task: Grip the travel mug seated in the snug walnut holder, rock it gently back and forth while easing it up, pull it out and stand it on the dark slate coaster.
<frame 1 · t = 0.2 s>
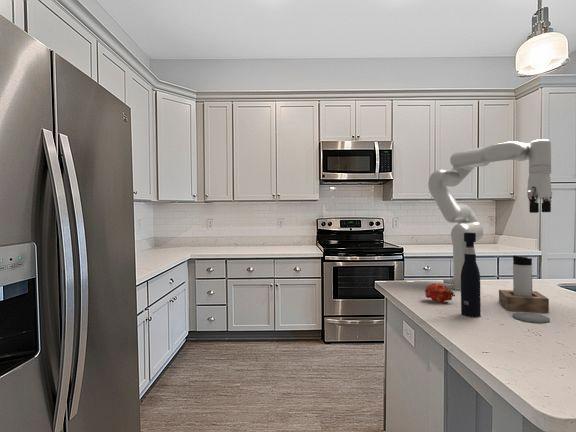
hand: (540, 212, 149), 37 cm above the countertop, tool pointing down, fingers open, 9 cm apart
mug holder: (522, 306, 142), on the countertop
coaster: (530, 318, 127), on the countertop
travel mug: (522, 307, 142), resting in mug holder
black water bottle: (470, 315, 133), on the countertop
dragon fruit: (439, 302, 152), on the countertop
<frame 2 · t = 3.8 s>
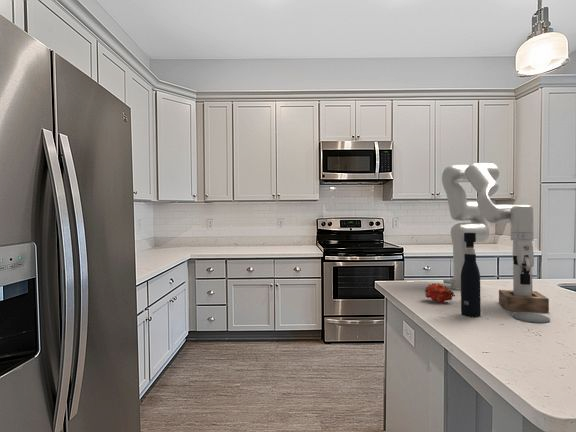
hand: (522, 282, 142), 10 cm above the countertop, tool pointing down, fingers closed on travel mug, 6 cm apart
travel mug: (522, 307, 142), resting in mug holder, touching gripper
everything else where it was.
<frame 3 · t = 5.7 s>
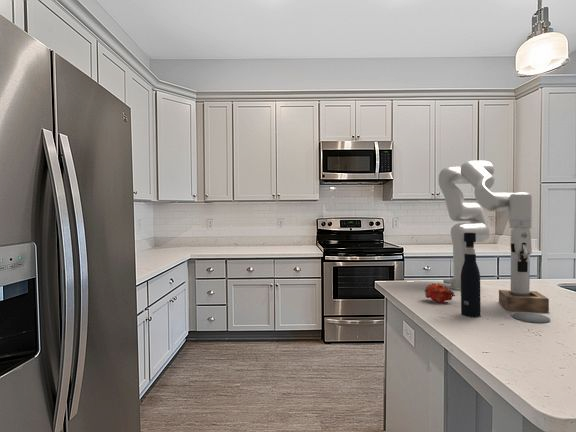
hand: (519, 269, 142), 14 cm above the countertop, tool pointing down, fingers closed on travel mug, 6 cm apart
travel mug: (519, 294, 143), point 5 cm above the countertop, touching gripper
everything else where it was.
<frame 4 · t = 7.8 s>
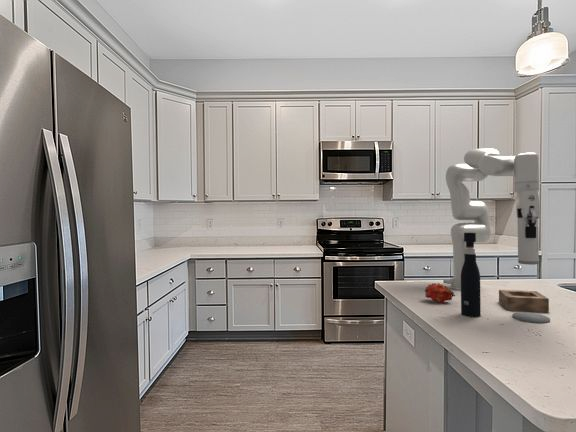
hand: (527, 236, 132), 28 cm above the countertop, tool pointing down, fingers closed on travel mug, 6 cm apart
travel mug: (527, 264, 132), point 18 cm above the countertop, touching gripper
everything else where it was.
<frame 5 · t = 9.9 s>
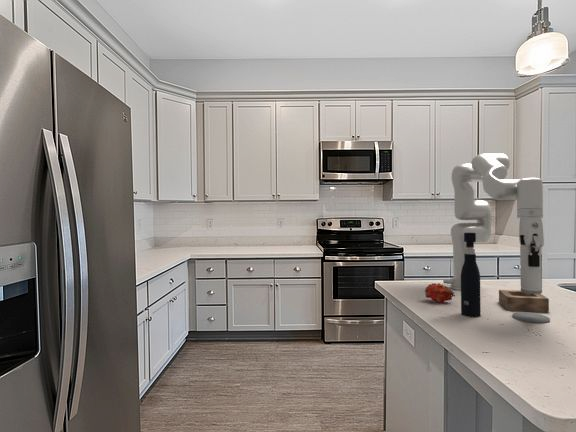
hand: (530, 264, 127), 19 cm above the countertop, tool pointing down, fingers closed on travel mug, 6 cm apart
travel mug: (530, 292, 127), point 9 cm above the countertop, touching gripper
everything else where it was.
when the fingers open (11 cm above the countertop, at t = 11.8 s): travel mug drops 1 cm, resting on coaster.
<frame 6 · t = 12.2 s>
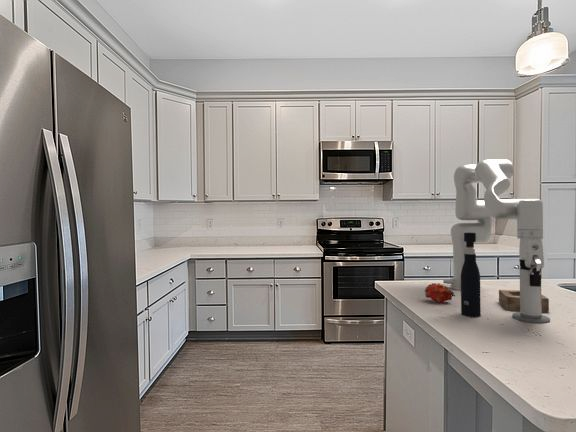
hand: (530, 283, 127), 12 cm above the countertop, tool pointing down, fingers open, 9 cm apart
travel mug: (530, 316, 127), resting on coaster
everything else where it was.
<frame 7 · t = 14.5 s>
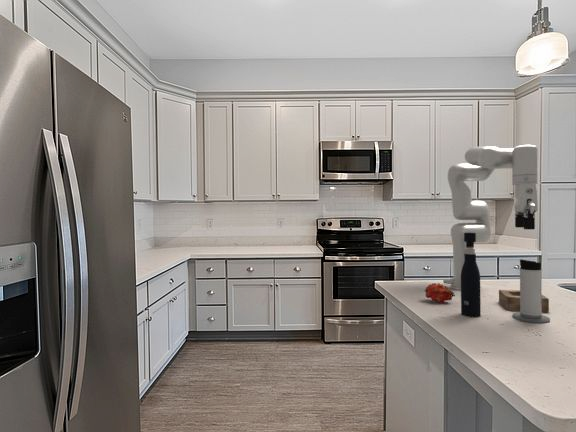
hand: (524, 228, 130), 31 cm above the countertop, tool pointing down, fingers open, 9 cm apart
nothing on the countertop moved.
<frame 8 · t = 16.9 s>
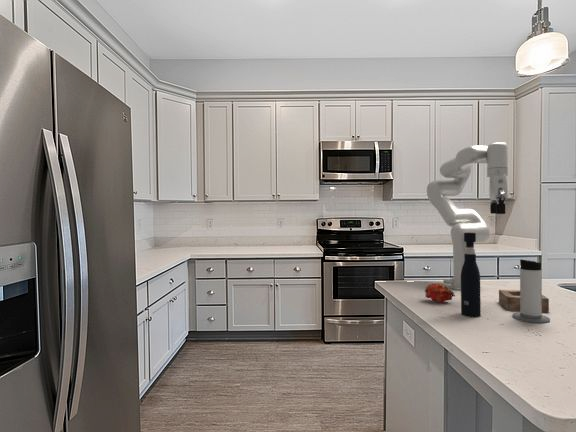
hand: (497, 213, 153), 36 cm above the countertop, tool pointing down, fingers open, 9 cm apart
nothing on the countertop moved.
at the end: travel mug inside the target area on the coaster (0.3 cm from its centre), point 0.4 cm above the coaster's base; travel mug tilted 0°; travel mug touching coaster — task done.
